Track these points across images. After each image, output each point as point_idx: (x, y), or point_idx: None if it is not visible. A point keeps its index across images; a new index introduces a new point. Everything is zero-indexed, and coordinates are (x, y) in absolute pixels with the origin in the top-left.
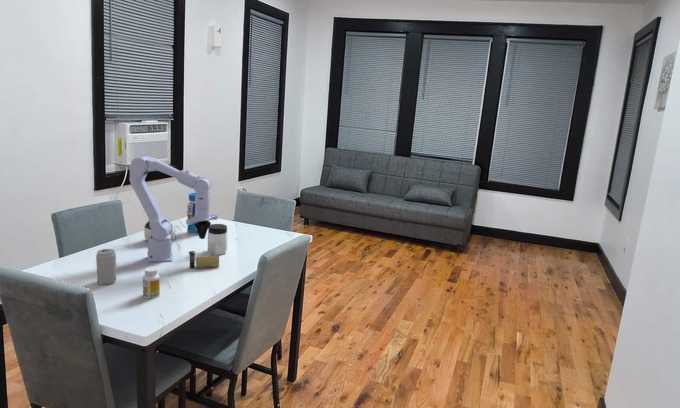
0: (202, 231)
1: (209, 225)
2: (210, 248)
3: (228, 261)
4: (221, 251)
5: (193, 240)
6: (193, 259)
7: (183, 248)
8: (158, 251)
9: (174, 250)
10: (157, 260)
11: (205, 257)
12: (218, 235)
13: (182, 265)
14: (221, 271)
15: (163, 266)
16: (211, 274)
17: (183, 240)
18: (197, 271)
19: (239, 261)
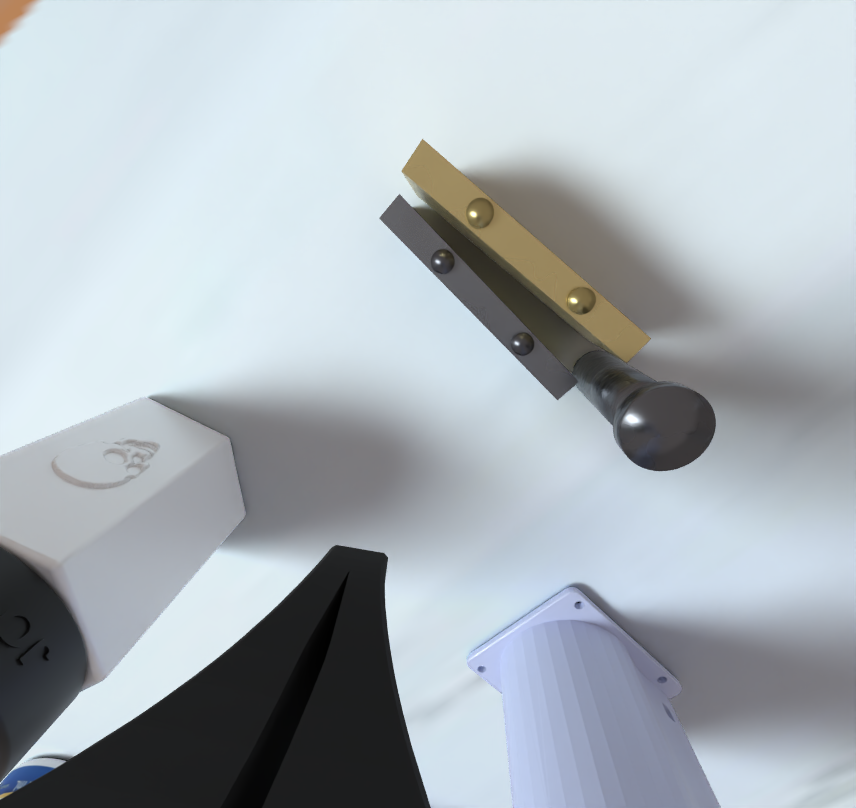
0: (378, 679)
1: (38, 794)
2: (216, 513)
3: (252, 222)
4: (162, 419)
5: None
6: (640, 373)
7: None
8: (660, 727)
9: None
10: (643, 652)
11: (564, 267)
12: (30, 537)
13: (599, 467)
14: (517, 44)
15: (700, 557)
16: (656, 65)
17: None
18: (656, 259)
19: (167, 126)
